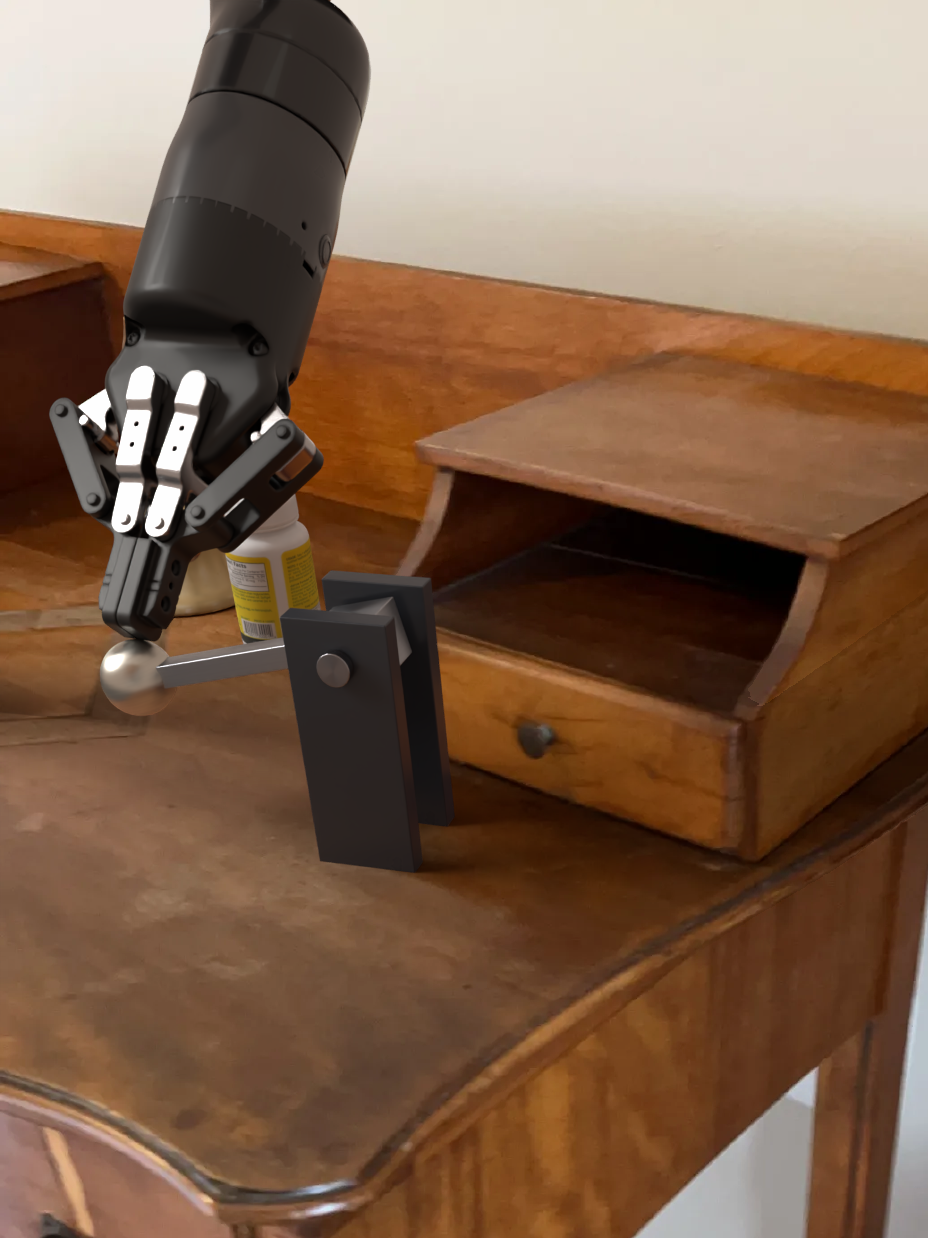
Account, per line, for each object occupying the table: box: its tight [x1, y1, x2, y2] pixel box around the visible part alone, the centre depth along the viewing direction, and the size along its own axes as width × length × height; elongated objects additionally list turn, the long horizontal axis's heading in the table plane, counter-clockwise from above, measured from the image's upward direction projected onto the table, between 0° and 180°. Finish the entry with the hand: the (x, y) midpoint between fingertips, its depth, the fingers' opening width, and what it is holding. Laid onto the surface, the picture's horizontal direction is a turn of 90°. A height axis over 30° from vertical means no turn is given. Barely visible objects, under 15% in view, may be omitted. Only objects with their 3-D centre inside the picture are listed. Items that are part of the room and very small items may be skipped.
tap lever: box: [99, 597, 412, 717], centre depth 63 cm, size 14×3×3 cm, turn 74°
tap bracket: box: [280, 570, 456, 874], centre depth 64 cm, size 8×8×13 cm
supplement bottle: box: [224, 493, 322, 644], centre depth 86 cm, size 5×5×8 cm
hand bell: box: [121, 316, 235, 617], centre depth 91 cm, size 8×8×16 cm
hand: (129, 632), depth 64 cm, fingers closed
